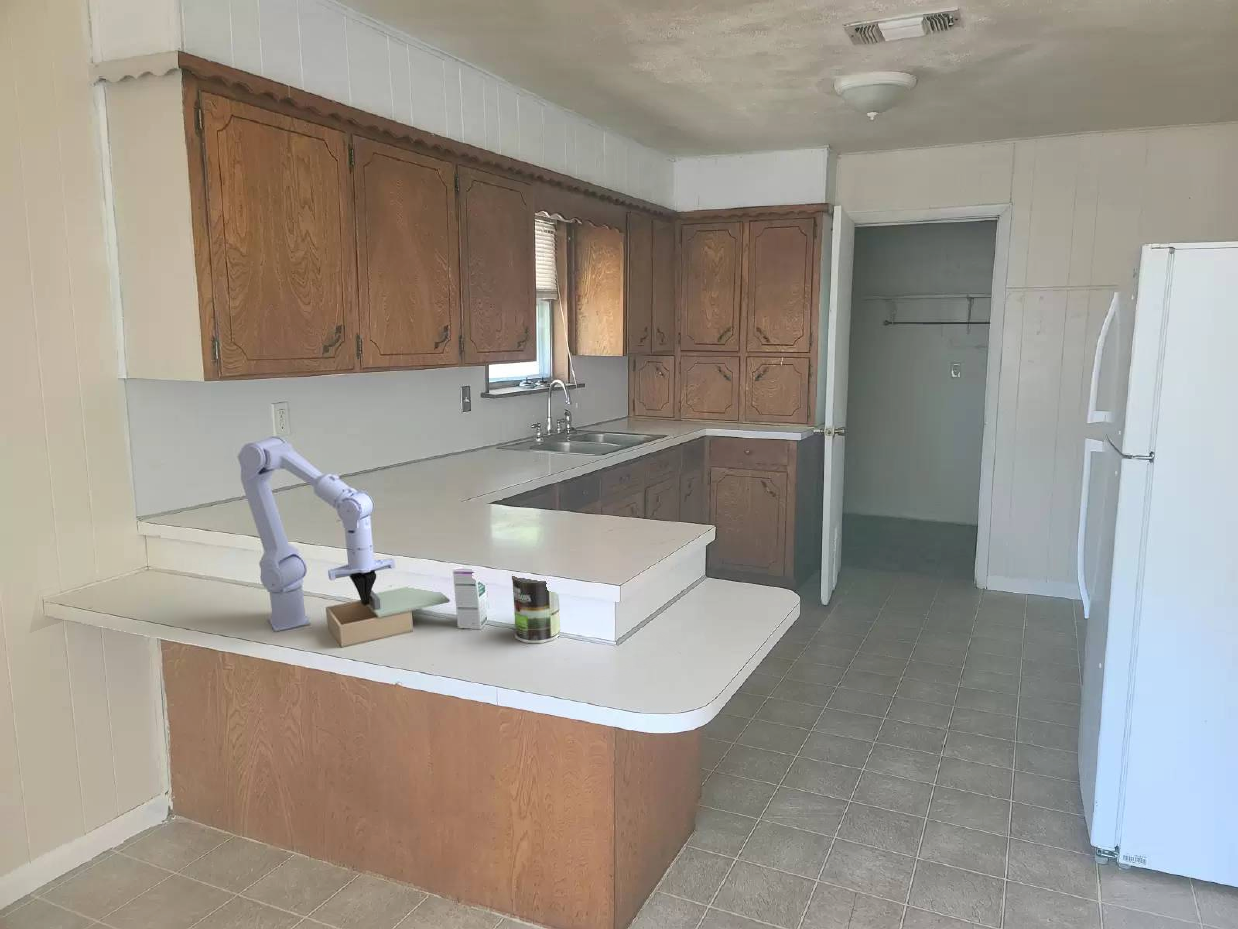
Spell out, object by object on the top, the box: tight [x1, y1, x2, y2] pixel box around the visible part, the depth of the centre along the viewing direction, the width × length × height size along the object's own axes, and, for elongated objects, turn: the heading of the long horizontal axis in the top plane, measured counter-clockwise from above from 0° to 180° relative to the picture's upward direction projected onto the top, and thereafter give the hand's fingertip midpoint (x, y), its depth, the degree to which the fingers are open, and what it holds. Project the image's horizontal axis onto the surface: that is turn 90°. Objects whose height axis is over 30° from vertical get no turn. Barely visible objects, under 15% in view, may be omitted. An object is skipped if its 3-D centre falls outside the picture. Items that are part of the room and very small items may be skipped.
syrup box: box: [452, 566, 488, 630], centre depth 201 cm, size 6×6×14 cm
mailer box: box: [325, 599, 414, 648], centre depth 201 cm, size 14×16×5 cm
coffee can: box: [511, 575, 561, 644], centre depth 194 cm, size 10×10×14 cm
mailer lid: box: [368, 586, 451, 618], centre depth 204 cm, size 15×17×3 cm
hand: (365, 603), depth 200 cm, fingers closed
